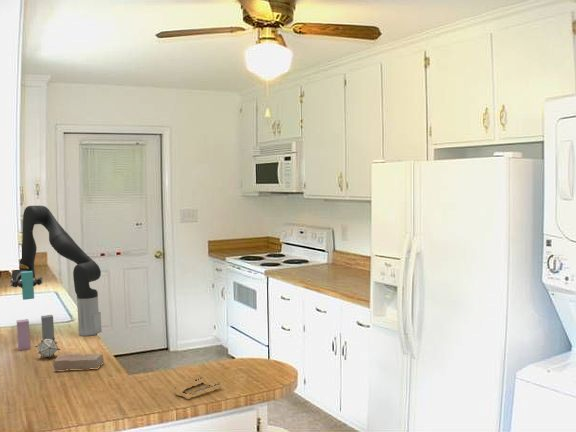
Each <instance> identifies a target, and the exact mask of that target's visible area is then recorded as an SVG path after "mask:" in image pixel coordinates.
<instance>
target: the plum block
mask: <svg viewBox="0 0 576 432" xmlns="http://www.w3.org/2000/svg"><path fill="white" fill-rule="evenodd" d="M29 322H30V321H29V319H28V318H26V319H18V320H16V332H17V333H16V334H17V347H18V351H24V350H30V349H31V338H30V337H31V336H30V323H29Z"/></svg>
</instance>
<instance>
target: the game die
mask: <svg viewBox="0 0 576 432" xmlns="http://www.w3.org/2000/svg"><path fill="white" fill-rule="evenodd" d="M55 339H56V338H55V337H54V339H46V337H45V339H44V340H43V339H41V340H40V342H39V344H38V345H35V346H34V347H35V348H37V350H38V353H37V354H38V355H40V359H42V358H43V357H44V358H48V359H49V360H51V357H52V356H55V353H56V352H57V351H60V350H61V349H60V348H59V347H58V346H57V344H58V342H56V340H55ZM54 340H55V341H54Z"/></svg>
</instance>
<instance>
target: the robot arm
mask: <svg viewBox="0 0 576 432" xmlns="http://www.w3.org/2000/svg"><path fill="white" fill-rule="evenodd" d="M35 225H41V226H43V227H44V228H45V229H46V231H47V232H48V240H49V244H50V245H51V247H52V249H54V251H55V252H57V254H58V255H60V256H62V257H63V258H65V259H67V260H69V261H72V262H73V263H75V264H76V265H75V266H74V268H73V272H72V275H73V278H72V279H73V285H74V291H75V295H76V302H77V303H76V305H77V320H78V321H77V322H78V326H77V327H78V335H79V336H83V337H87V336H88V337H89V336H96V335H98V334H100V333H103V332H102V330H103V329H102V315H101V314H102V313H101V311H100V310H99V296H98V295H99V292H98V290H97V289H94V288H92V287H90V283H91V282H95V281H98V280H99V279H100V278H101V276H102V272H101V268H100V266H99V264H98V263H97V262H96V261H94V259H92V258H91V257H90V256H89V255H88V254H87V253H86V252H85V251H84V250H83V249H82V248H81V247H80V246H79V245H78V243H76V242H75V240H74V239H73V238H72V237H71V235H69V233H67V231H66V230H65V229H64V227H62V225H61V224H60V223H59V222H58V220H57V219H56V217H55V216H54V215H53V213H52V211H50V209H49V208H48V207H47V206H45V205H28V206H26V207H25V208H24V211H23V214H22V235H21V236H22V237H21V238H22V241H21V247H22V259H21V261H20V264H21V265H23V266H26V267H28V268H26V267H25V268H24V267H19V268H20V270H15V271H13V270H12V271H11V280H10V281H9V282H10V283H9V284H10V287H13V288H17V287H19V288H21V289H22V288H23V284H22V279H21V272H25V271H32V272H33V286H34V287H36V286H37V285H38V286H40V285H42V284H43V282H44V281H43V277H42V276H40V277H38V278H36V271H35V259H36V256H37V255H36V254H37V243H36V241H35V238H34V237H35V236H34V233H33V231H34V227H35Z"/></svg>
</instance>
